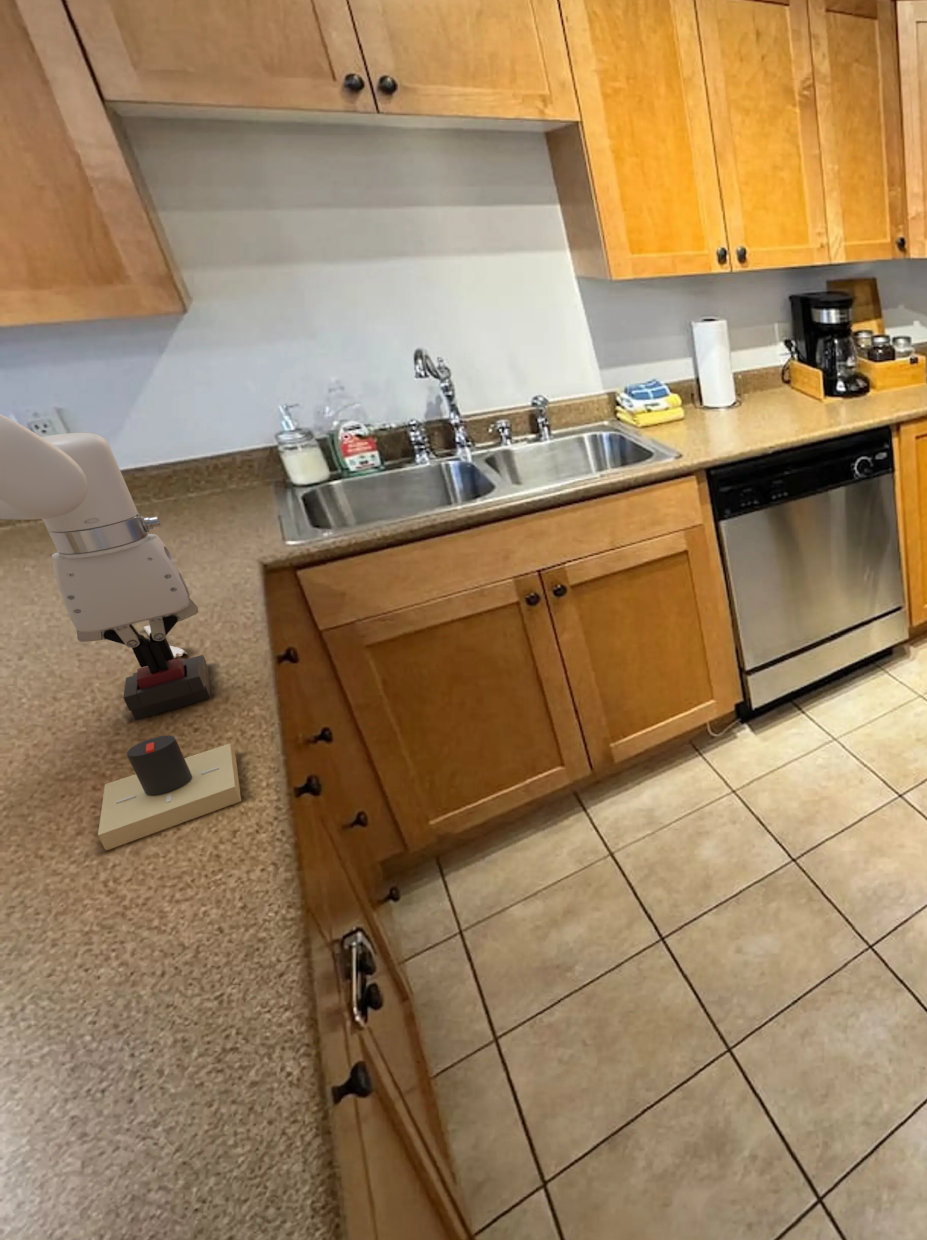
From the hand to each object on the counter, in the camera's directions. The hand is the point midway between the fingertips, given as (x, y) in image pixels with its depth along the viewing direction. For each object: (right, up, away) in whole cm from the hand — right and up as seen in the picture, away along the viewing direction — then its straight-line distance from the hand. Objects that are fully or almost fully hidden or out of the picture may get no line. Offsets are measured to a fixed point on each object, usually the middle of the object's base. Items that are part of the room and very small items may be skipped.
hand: (160, 667), depth 99 cm
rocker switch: (-3, -4, +4) cm, 7 cm away
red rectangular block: (0, -2, 0) cm, 2 cm away
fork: (-17, 0, +17) cm, 24 cm away
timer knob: (+20, -9, -18) cm, 28 cm away
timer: (+20, -11, -17) cm, 28 cm away
